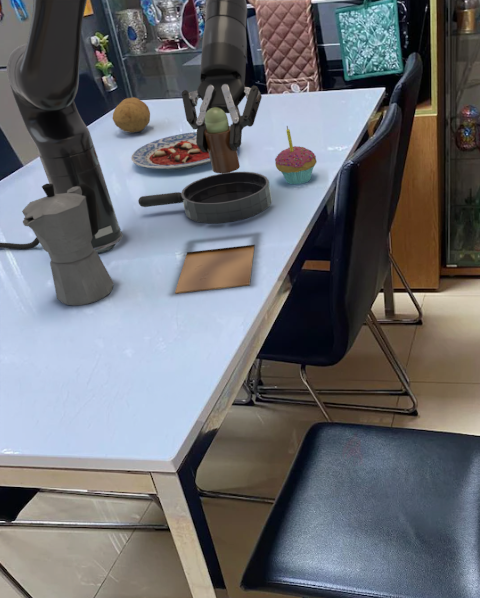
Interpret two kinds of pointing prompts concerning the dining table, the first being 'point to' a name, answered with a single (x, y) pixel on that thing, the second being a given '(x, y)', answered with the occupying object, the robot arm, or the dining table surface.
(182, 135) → the ceramic plate
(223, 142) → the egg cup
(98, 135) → the dining table surface
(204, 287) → the placemat
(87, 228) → the coffeepot
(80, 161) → the robot arm
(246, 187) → the pan
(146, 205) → the pan handle
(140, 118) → the potato
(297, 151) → the cupcake
